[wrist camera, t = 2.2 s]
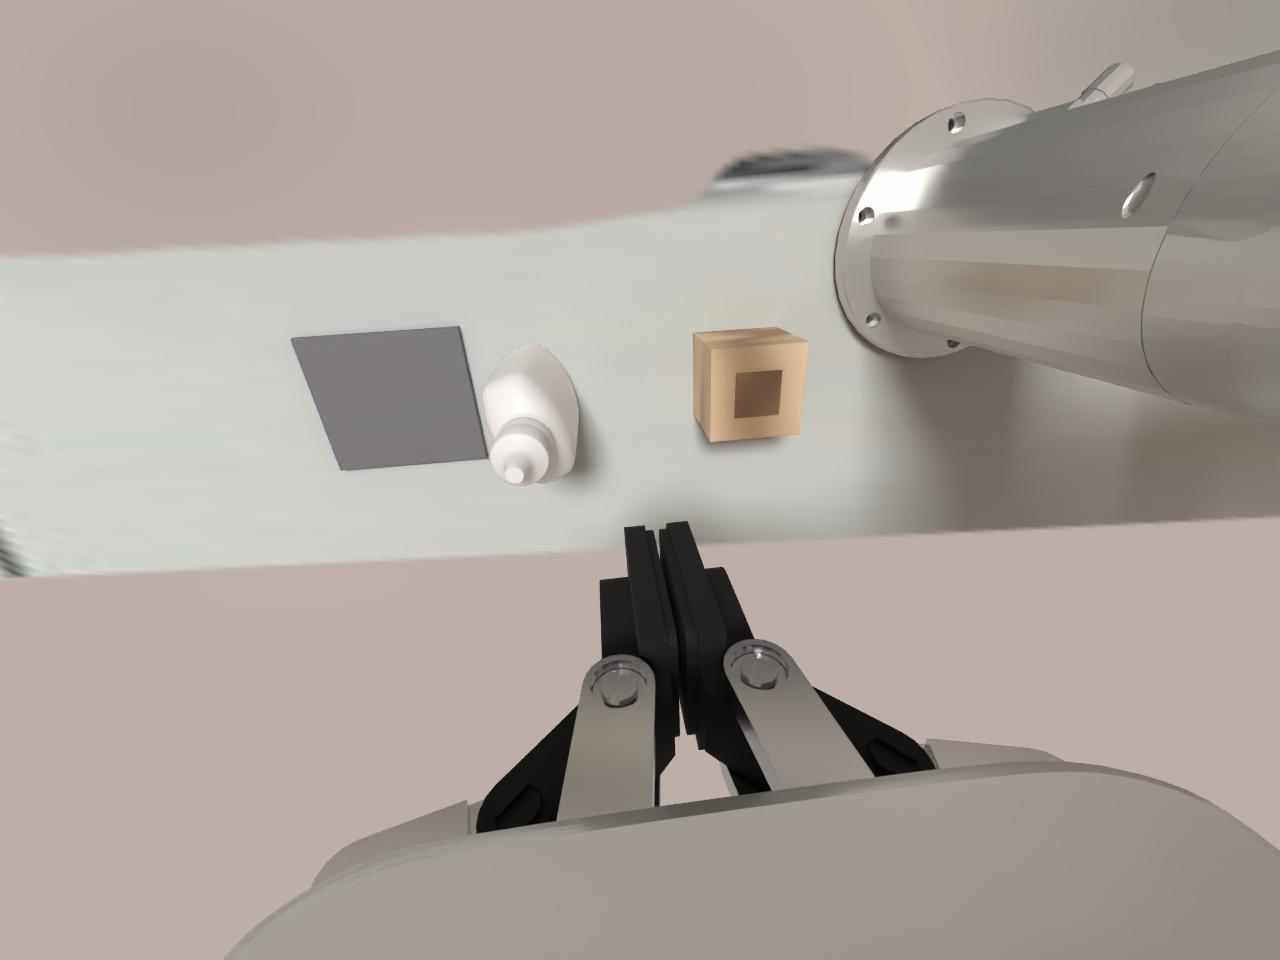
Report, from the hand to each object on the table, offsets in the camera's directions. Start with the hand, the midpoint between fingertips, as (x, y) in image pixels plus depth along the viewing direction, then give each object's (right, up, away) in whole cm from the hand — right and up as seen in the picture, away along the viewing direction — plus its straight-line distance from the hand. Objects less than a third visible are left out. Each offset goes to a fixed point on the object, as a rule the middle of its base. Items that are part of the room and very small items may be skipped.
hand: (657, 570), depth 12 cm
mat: (-15, +7, +16) cm, 23 cm away
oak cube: (+5, +9, +17) cm, 20 cm away
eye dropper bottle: (-6, +8, +16) cm, 19 cm away
